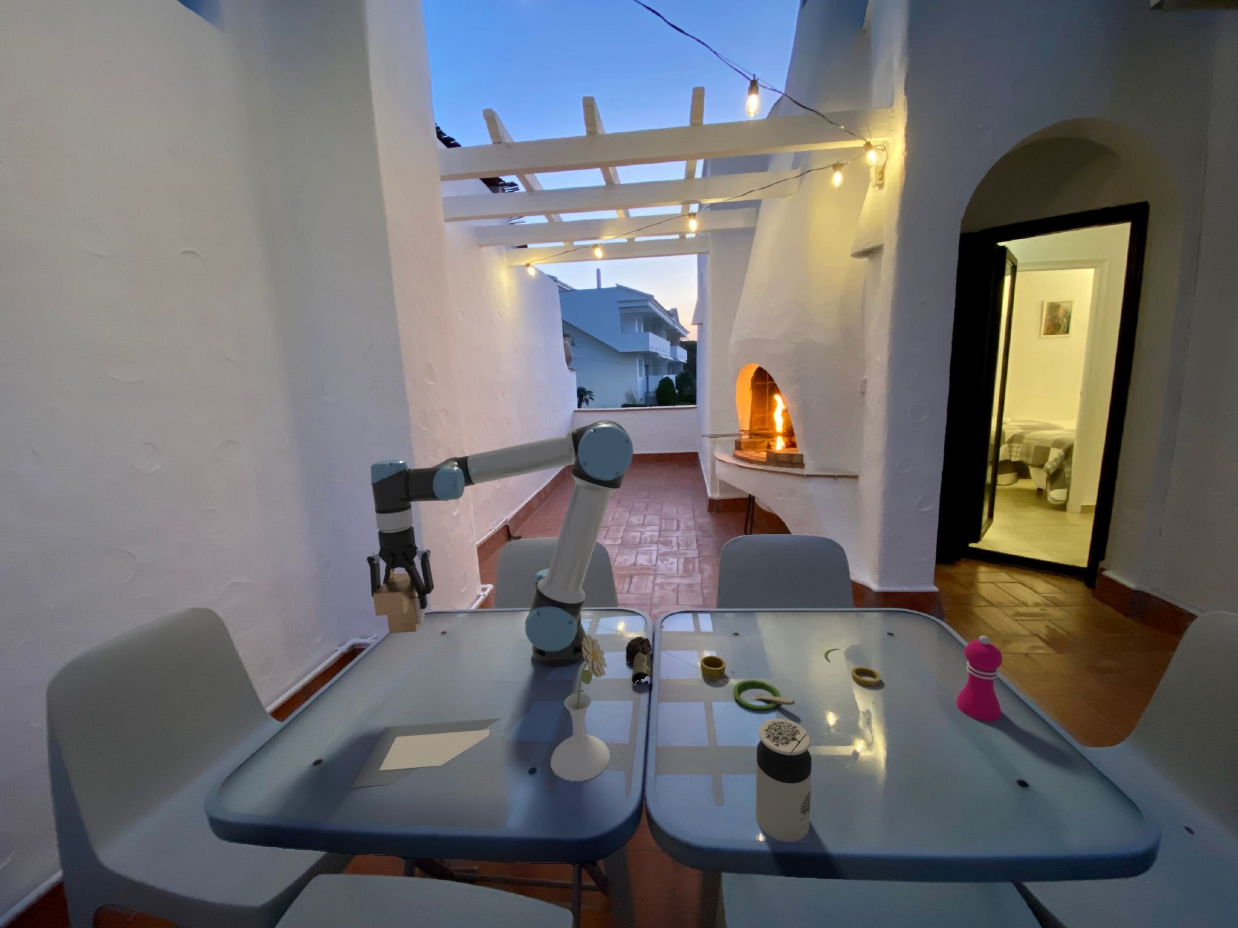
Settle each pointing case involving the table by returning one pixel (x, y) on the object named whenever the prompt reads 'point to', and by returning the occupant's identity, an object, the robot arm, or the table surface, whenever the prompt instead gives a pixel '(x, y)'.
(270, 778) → the table surface
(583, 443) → the robot arm
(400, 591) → the wooden l-shaped block
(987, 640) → the pepper mill
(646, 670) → the brown olive knobbed cylinder
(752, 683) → the tableware set
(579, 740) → the flower in vase
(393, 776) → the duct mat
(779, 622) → the table surface
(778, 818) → the travel mug
